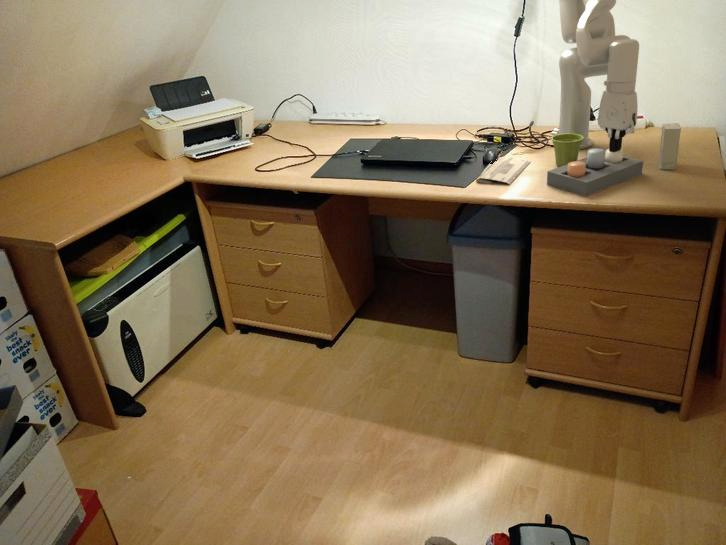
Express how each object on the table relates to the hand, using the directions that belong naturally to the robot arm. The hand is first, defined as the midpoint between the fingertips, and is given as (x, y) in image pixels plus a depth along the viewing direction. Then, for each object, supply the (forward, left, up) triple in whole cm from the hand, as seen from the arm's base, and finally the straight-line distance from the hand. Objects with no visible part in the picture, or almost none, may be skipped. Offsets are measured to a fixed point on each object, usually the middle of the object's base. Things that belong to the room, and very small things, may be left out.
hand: (614, 150), depth 178 cm
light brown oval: (0, -16, -4) cm, 16 cm away
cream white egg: (0, 0, -4) cm, 4 cm away
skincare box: (+8, +14, -7) cm, 18 cm away
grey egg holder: (0, -8, -7) cm, 10 cm away
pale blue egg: (0, -8, -3) cm, 8 cm away
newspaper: (-25, -21, -8) cm, 34 cm away
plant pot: (-15, -3, -7) cm, 17 cm away
